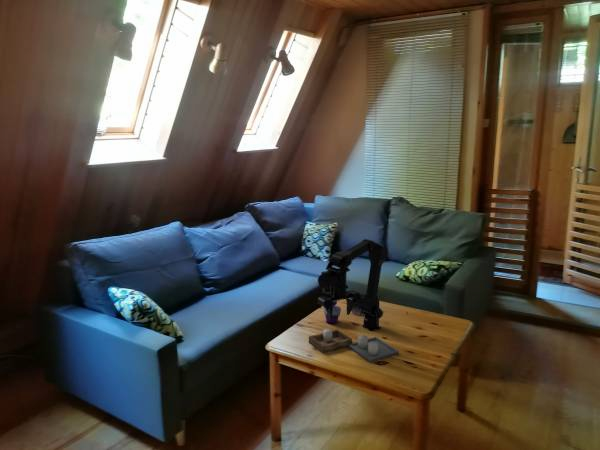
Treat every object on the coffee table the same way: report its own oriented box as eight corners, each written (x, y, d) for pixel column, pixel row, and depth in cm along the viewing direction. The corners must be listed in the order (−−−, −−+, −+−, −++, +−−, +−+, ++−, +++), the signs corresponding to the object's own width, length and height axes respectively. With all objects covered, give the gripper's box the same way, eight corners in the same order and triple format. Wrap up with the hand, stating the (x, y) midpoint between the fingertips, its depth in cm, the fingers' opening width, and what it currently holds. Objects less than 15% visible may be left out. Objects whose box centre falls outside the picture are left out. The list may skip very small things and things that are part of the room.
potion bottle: (333, 317, 227) (334, 293, 225) (344, 323, 220) (345, 299, 218) (319, 320, 223) (319, 297, 221) (329, 327, 216) (330, 303, 213)
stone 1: (333, 341, 200) (334, 331, 199) (326, 343, 198) (326, 333, 197) (329, 337, 203) (329, 328, 202) (321, 339, 201) (321, 329, 200)
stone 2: (361, 343, 198) (361, 334, 197) (369, 346, 195) (369, 336, 194) (355, 347, 195) (356, 337, 194) (363, 350, 192) (364, 340, 191)
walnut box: (337, 335, 207) (337, 329, 207) (351, 345, 198) (352, 338, 197) (308, 342, 200) (308, 336, 199) (322, 353, 191) (322, 346, 190)
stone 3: (375, 351, 192) (376, 341, 191) (379, 355, 188) (379, 345, 187) (366, 352, 191) (366, 342, 190) (370, 356, 187) (370, 346, 186)
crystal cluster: (381, 312, 235) (381, 293, 234) (365, 318, 225) (366, 298, 225) (359, 307, 244) (360, 289, 243) (344, 312, 234) (344, 293, 234)
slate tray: (375, 339, 204) (375, 336, 203) (398, 354, 191) (398, 350, 191) (347, 347, 196) (347, 344, 196) (369, 362, 184) (370, 359, 183)
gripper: (346, 273, 207) (346, 306, 210) (310, 280, 198) (310, 314, 201) (361, 281, 198) (360, 314, 201) (325, 288, 189) (324, 324, 192)
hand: (339, 316), depth 199 cm, fingers open, 9 cm apart
